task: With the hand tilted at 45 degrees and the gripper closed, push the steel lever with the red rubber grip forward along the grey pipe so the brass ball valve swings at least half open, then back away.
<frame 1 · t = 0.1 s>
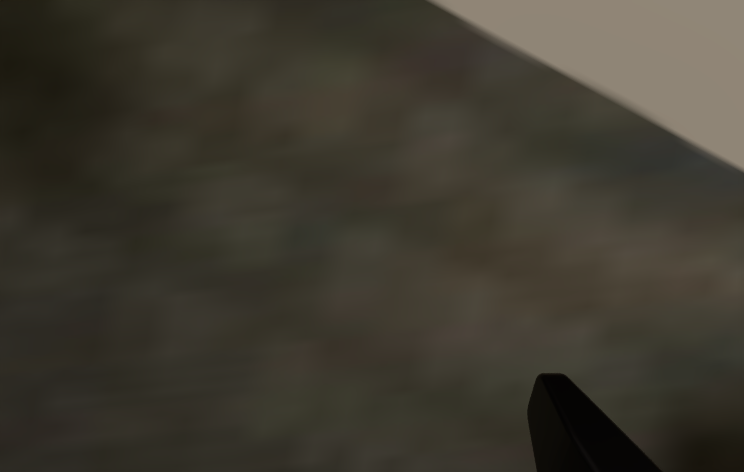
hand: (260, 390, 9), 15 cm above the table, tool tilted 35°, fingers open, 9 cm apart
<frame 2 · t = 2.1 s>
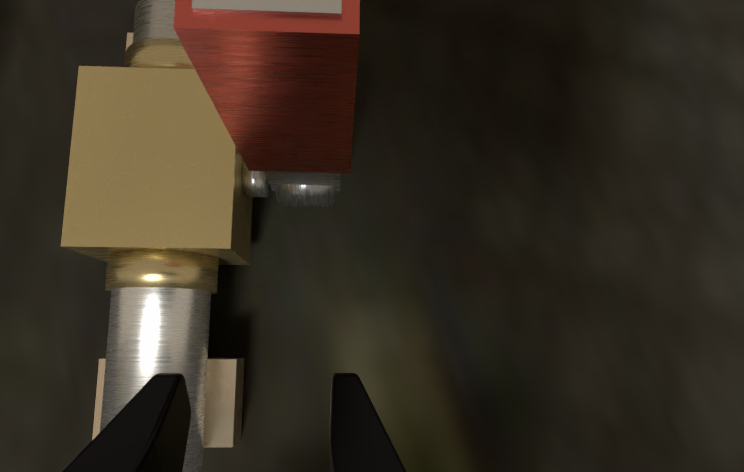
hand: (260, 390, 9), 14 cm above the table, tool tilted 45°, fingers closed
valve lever: (296, 121, 16), point 8 cm above the table, hinge at 0.0°
valve assembly: (191, 194, 24), on the table
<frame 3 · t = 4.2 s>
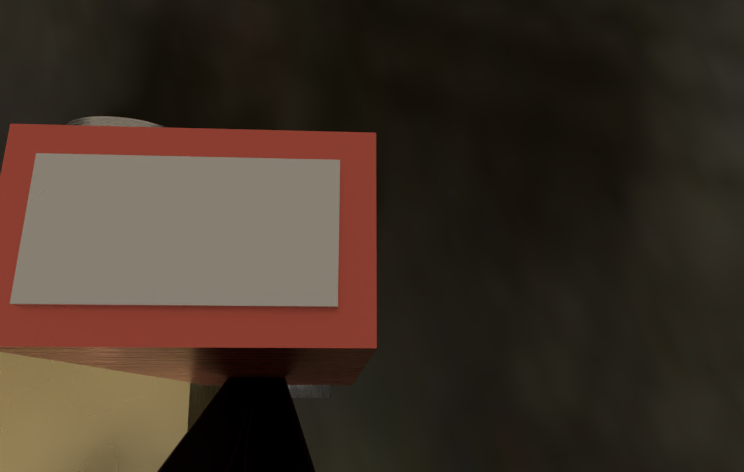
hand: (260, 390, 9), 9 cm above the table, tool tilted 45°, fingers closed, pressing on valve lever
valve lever: (272, 330, 11), point 8 cm above the table, hinge at 6.1°, touching gripper
valve assembly: (147, 352, 18), on the table
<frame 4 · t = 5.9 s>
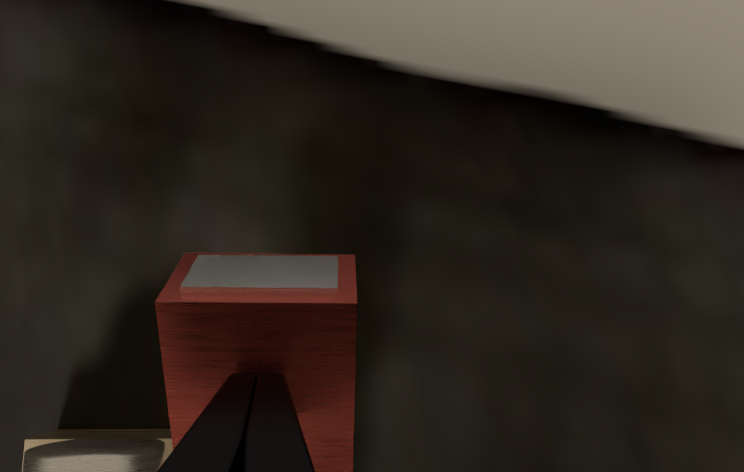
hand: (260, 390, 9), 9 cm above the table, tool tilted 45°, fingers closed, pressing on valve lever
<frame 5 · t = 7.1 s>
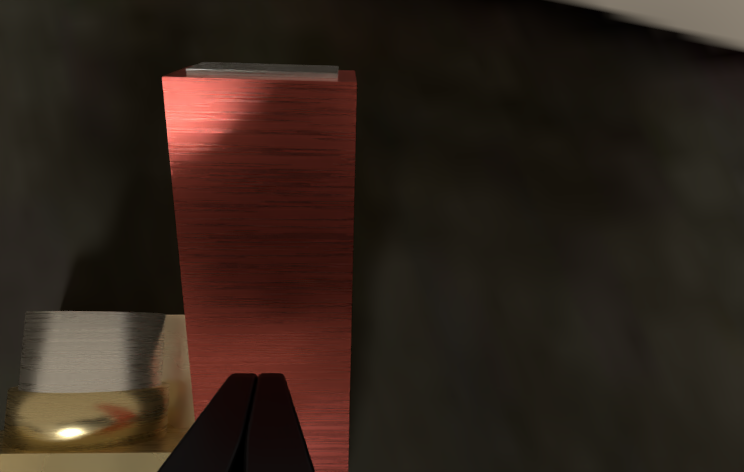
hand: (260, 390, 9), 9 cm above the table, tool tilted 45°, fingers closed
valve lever: (277, 382, 12), point 6 cm above the table, hinge at 59.3°
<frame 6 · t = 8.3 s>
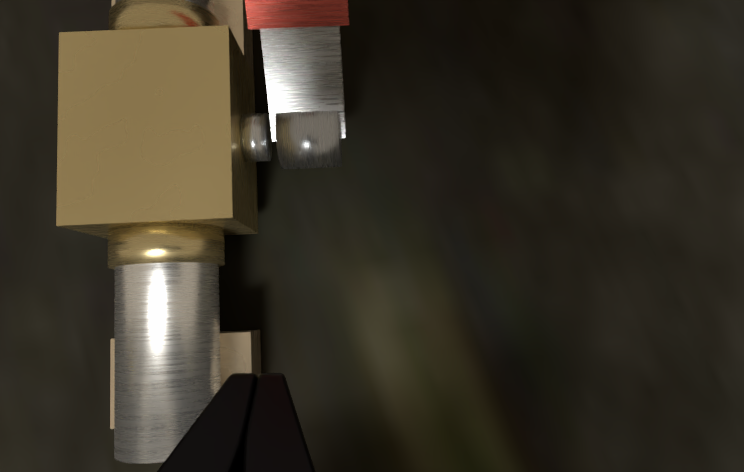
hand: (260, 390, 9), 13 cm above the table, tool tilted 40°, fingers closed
valve assembly: (193, 163, 23), on the table
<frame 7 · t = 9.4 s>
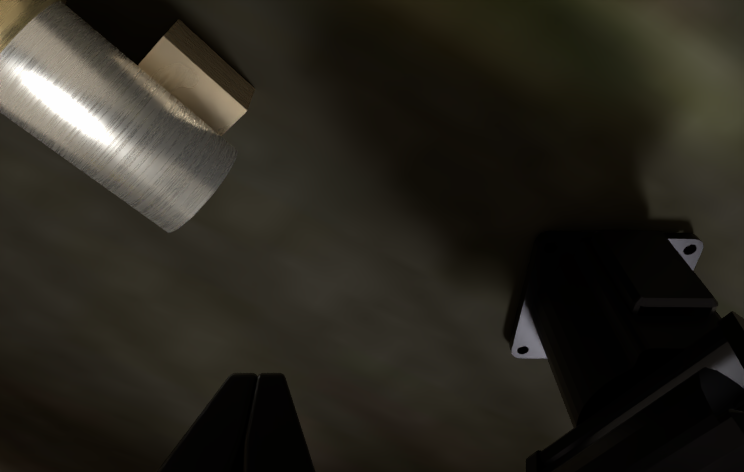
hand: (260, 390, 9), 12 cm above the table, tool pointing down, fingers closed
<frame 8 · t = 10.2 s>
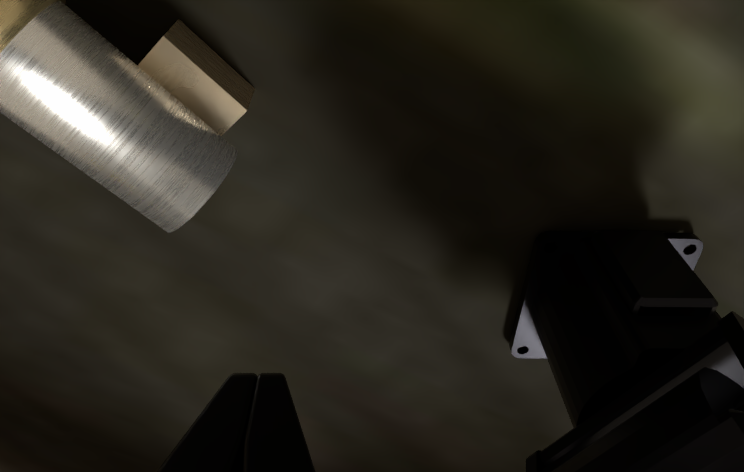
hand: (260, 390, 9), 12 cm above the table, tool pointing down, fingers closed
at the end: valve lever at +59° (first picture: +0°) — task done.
